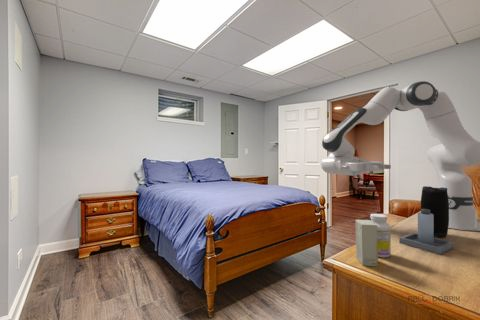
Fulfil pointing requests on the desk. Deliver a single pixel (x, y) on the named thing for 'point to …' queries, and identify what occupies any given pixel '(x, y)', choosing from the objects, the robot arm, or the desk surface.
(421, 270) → the desk surface
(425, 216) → the blue bottle
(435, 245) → the box
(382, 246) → the supplement bottle
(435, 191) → the portable speaker
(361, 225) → the skincare box
